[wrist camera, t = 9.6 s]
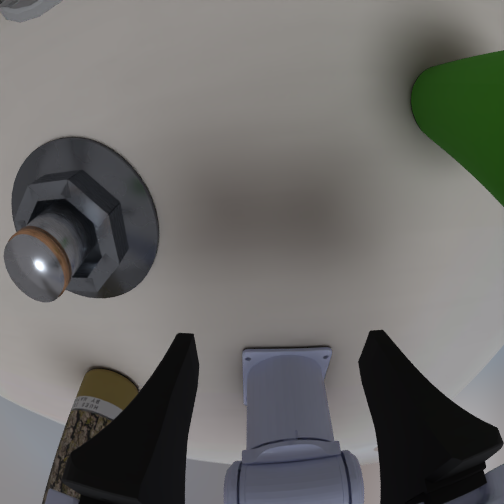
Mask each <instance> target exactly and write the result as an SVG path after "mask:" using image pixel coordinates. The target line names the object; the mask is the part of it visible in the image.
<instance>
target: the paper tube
mask: <svg viewBox="0 0 504 504" xmlns="http://www.w3.org/2000/svg"><path fill="white" fill-rule="evenodd" d="M137 394H138V390H137V388H136V387H135V385H134V384H133V383H132V382H130V381H129V380H128V379H127V378H125V377H124V376H122V375H120V374H118V373H116V372H113V371H110V370H106V369H93V370H91V371H89V372H87V373H86V375H85V376H84V379H83V381H82V384H81V386H80V389H79V391H78V394H77V397H76V399H75V401H74V404H73V406H72V409H71V412H70V414H69V417H68V420H67V423H66V426H65V428H64V431H63V435H62V438H61V440H60V443H59V447H58V449H57V453H56V456H55V459H54V462H53V465H52V469H51V472H50V475H49V479H48V483H47V486H46V490H45V494H44V498H43V502H42V504H45V501H46V497H47V494H48V490H49V489H50V488H51V489H53V490H56V491H58V492H61V493H63V494H66V495H69V496H71V497H74V498H76V499H78V500H80V496H81V494H79V493H77V492H76V491H74V490H72V489H71V488H69V487H68V486H66V485H65V484H64V483H63V482H62V480H61V479H62V476H63V472H64V468H65V465H66V462H67V459H68V457H69V455H70V453H71V452H72V451H74V450H75V449H77V448H78V447H79V446H81V445H82V444H84V443H85V442H87V441H88V440H90V439H91V438H92V437H94V436H95V435H96V434H97V433H99V432H100V431H101V430H102V429H103V428H105V427H106V426H107V425H108V424H109V423H110V422H112V421H113V420H114V419H115V418H116V417H117V416H118V415H119V414H120V413H121V412H122V411H123V410H124V409H125V408H126V407H127V406H128V404H129V403H130V402H131V401H132V400H133V399H134V398H135V396H136V395H137Z"/></svg>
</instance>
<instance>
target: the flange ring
mask: <svg viewBox="0 0 504 504" xmlns="http://www.w3.org/2000/svg"><path fill="white" fill-rule="evenodd" d="M64 198H66V199H67V200H68V201H69V202H70V203H71V204H72V205H74V206H75V207H76V208H77V209H78V210H79V211H80V212H82V213H83V214H84V215H85V216H86V217H87V218H89V219H90V220H91V221H92V222H93V223H94V227H95V231H96V235H97V239H98V243H97V244H96V245H95V247H94V248H93V249H92V251H91V252H90V253H89V255H88V256H87V257H86V259H85V260H84V261H83V263H82V264H81V265H80V267H79V268H78V269H77V271H76V272H75V274H74V275H73V276H72V278H71V281H70V283H69V285H68V286H67V288H66V289H65V290H68V291H70V292H73V293H75V294H78V295H82V296H86V297H92V298H110V297H115V296H119V295H122V294H124V293H126V292H128V291H130V290H132V289H133V288H135V287H136V286H137V285H138V284H139V283H140V282H141V281H142V280H143V279H144V278H145V276H146V275H147V274H148V272H149V270H150V268H151V266H152V264H153V262H154V259H155V256H156V253H157V248H158V242H159V227H158V219H157V214H156V210H155V207H154V204H153V201H152V198H151V196H150V194H149V192H148V189H147V187H146V186H145V184H144V182H143V181H142V179H141V178H140V176H139V175H138V174H137V172H136V171H135V170H134V169H133V167H132V166H131V165H130V164H129V163H128V162H127V161H126V160H125V159H124V158H123V157H121V156H120V155H119V154H117V153H116V152H115V151H113V150H112V149H110V148H108V147H107V146H105V145H103V144H101V143H98V142H96V141H93V140H90V139H85V138H78V137H67V138H60V139H57V140H53V141H51V142H48V143H46V144H44V145H42V146H40V147H39V148H38V149H36V150H35V151H33V152H32V153H31V154H30V155H29V156H28V157H27V158H26V160H25V161H24V163H23V164H22V166H21V167H20V169H19V171H18V173H17V176H16V179H15V182H14V186H13V191H12V215H13V221H14V225H15V229H16V232H17V231H18V230H20V229H21V228H23V227H25V226H26V225H28V224H29V223H30V222H31V221H32V220H33V219H34V218H36V217H37V216H38V215H39V214H40V213H41V212H43V211H44V210H45V209H46V208H47V207H49V206H50V205H51V204H52V203H54V202H55V201H56V200H57V199H64Z"/></svg>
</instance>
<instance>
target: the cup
mask: <svg viewBox="0 0 504 504" xmlns="http://www.w3.org/2000/svg"><path fill="white" fill-rule="evenodd" d="M411 106H412V112H413V114H414V117H415V120H416V122H417V124H418V125H419V127H420V129H421V130H422V131H423V132H424V133H425V134H426V135H427V136H428V137H429V138H430V139H431V140H433V141H434V142H435V143H436V144H437V145H439V146H440V147H441V148H442V149H443V150H445V151H446V152H447V153H448V154H449V155H451V156H452V157H453V158H454V159H455V160H456V161H457V162H459V163H460V164H461V165H462V166H463V167H464V168H465V169H466V170H467V171H468V172H470V173H471V174H472V175H473V176H474V177H475V178H476V179H477V180H478V181H479V182H480V183H481V184H482V185H483V186H484V187H485V188H486V189H487V190H488V191H489V192H490V193H491V194H492V195H493V196H494V197H495V198H496V199H497V200H498V201H499V202H500V203H501V204H502V206H503V207H504V50H503V51H498V52H493V53H488V54H483V55H478V56H473V57H469V58H465V59H461V60H456V61H452V62H449V63H445V64H441V65H437V66H434V67H430V68H429V69H427V70H425V71H424V72H423V73H422V74H421V75H420V76H419V77H418V79H417V80H416V82H415V84H414V86H413V89H412V93H411Z"/></svg>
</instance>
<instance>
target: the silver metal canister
mask: <svg viewBox="0 0 504 504" xmlns="http://www.w3.org/2000/svg"><path fill="white" fill-rule="evenodd" d="M97 243H98V239H97V235H96V231H95V227H94V223H93V222H92V221H91V220H90V219H89V218H87V217H86V216H85V215H84V214H83V213H82V212H80V211H79V210H78V209H77V208H76V207H75V206H74V205H72V204H71V203H70V202H69V201H68V200H67V199H66V198H64V199H57V200H56V201H55V202H54V203H52V204H51V205H50V206H49V207H47V208H46V209H45V210H44V211H43V212H41V213H40V214H39V215H38V216H37V217H36V218H34V219H33V220H32V221H31V222H30V223H29V224H28V225H26V226H25V227H23V228H21V229H20V230H18V231H17V232H16V233H15V234H14V235H13V236H12V237H11V238H10V239H9V241H8V243H7V245H6V247H5V250H4V261H5V265H6V269H7V271H8V273H9V275H10V277H11V279H12V280H13V282H14V283H15V284H16V286H17V287H18V288H19V289H20V290H21V291H22V292H24V293H25V294H26V295H27V296H29V297H31V298H32V299H35V300H37V301H40V302H52V301H54V300H55V299H57V298H58V297H59V296H61V295H62V294H63V292H64V291H65V289H66V288H67V286H68V285H69V283H70V281H71V278H72V276H73V275H74V274H75V272H76V271H77V269H78V268H79V267H80V265H81V264H82V263H83V261H84V260H85V259H86V257H87V256H88V255H89V253H90V252H91V251H92V249H93V248H94V247H95V245H96V244H97Z"/></svg>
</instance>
